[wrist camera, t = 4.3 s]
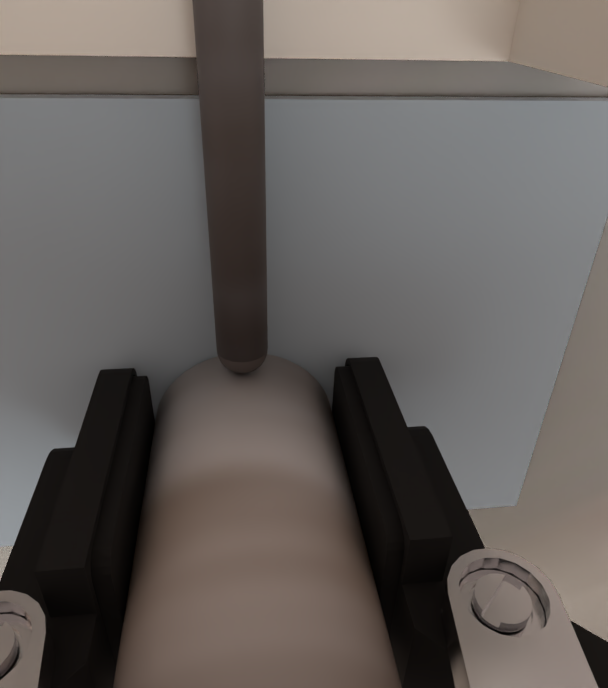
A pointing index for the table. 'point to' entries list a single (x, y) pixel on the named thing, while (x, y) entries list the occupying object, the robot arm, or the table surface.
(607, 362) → the table surface
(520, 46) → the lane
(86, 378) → the mat
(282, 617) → the rod with block end
